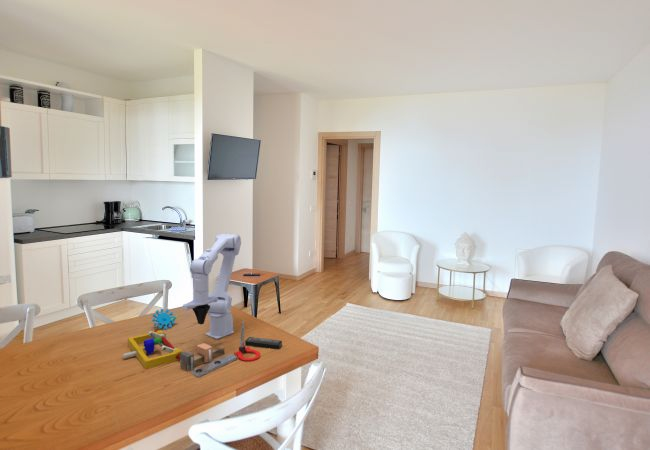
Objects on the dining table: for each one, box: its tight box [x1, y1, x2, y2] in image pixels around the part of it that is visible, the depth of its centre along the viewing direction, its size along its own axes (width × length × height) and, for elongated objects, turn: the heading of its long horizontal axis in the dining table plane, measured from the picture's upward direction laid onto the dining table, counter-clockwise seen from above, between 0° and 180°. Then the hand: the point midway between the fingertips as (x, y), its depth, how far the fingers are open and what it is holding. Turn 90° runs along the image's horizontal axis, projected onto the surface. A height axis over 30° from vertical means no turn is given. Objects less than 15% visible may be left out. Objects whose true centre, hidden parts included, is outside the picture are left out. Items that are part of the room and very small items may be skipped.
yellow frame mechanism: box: [122, 329, 184, 370], centre depth 153 cm, size 18×6×30 cm
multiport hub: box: [244, 336, 283, 350], centre depth 161 cm, size 4×14×2 cm, turn 78°
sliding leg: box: [196, 342, 213, 364], centre depth 147 cm, size 3×6×5 cm, turn 54°
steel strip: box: [191, 353, 238, 378], centre depth 143 cm, size 17×4×1 cm, turn 144°
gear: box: [151, 308, 178, 330], centre depth 178 cm, size 11×6×10 cm
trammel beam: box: [179, 345, 225, 372], centre depth 146 cm, size 17×6×5 cm, turn 144°
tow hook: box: [233, 321, 261, 363], centre depth 150 cm, size 8×13×9 cm
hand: (200, 323), depth 155 cm, fingers closed
